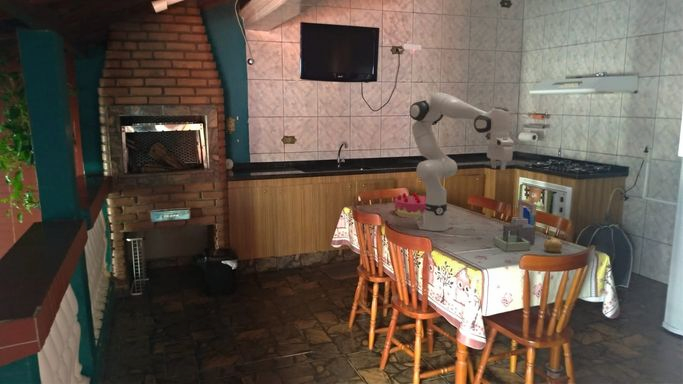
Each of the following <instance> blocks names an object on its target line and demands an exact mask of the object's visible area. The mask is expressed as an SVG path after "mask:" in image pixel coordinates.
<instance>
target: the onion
mask: <svg viewBox="0 0 683 384" xmlns="http://www.w3.org/2000/svg"><path fill="white" fill-rule="evenodd" d="M543 247H544V250H545V251H547V252H551V253H559V252H561V251H562V249H563V243H562V241H561V240H560V239H558V238H555V237H554V236H548V237H547V239H546V240H544V244H543Z"/></svg>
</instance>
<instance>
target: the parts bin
mask: <svg viewBox="0 0 683 384" xmlns="http://www.w3.org/2000/svg"><path fill="white" fill-rule="evenodd" d="M516 239H517V236H510V235H508V243H506V242H504V241H503V235H502V236H493V246H495V247H497V248H499V249H501V250H502V251H504V252H506V253H507V252H508V253H510V252H512V253H513V252H524V251H526V252H527V251H530V250H531V245H530V242H528V241H526V240H524V239H522V242H519V243H516Z"/></svg>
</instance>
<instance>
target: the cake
mask: <svg viewBox="0 0 683 384" xmlns="http://www.w3.org/2000/svg"><path fill="white" fill-rule="evenodd" d="M425 204H426V195H419V194H417V192H416V191H415V192H413V195H407V193H406V192H403V194H402V195H400V194H398V196H397V197H396V198H394V209H395V210H394V214H395V213H396V214H397V215H399V216H402V217H401V218H404V217H407V218H406V219H412V218H419V216H421V214H422V213H423V211H424V210H425ZM396 214H395V215H396ZM397 215H396V216H397ZM399 216H398V217H399Z"/></svg>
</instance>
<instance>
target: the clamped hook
mask: <svg viewBox="0 0 683 384" xmlns="http://www.w3.org/2000/svg"><path fill="white" fill-rule="evenodd" d="M523 206H526V207H528V208H530V215H535V216H536V215H537V204H535V203H533V202H530V201H527V200H525V199H517V211H516V212H517V214H516V217H517V219H523Z"/></svg>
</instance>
